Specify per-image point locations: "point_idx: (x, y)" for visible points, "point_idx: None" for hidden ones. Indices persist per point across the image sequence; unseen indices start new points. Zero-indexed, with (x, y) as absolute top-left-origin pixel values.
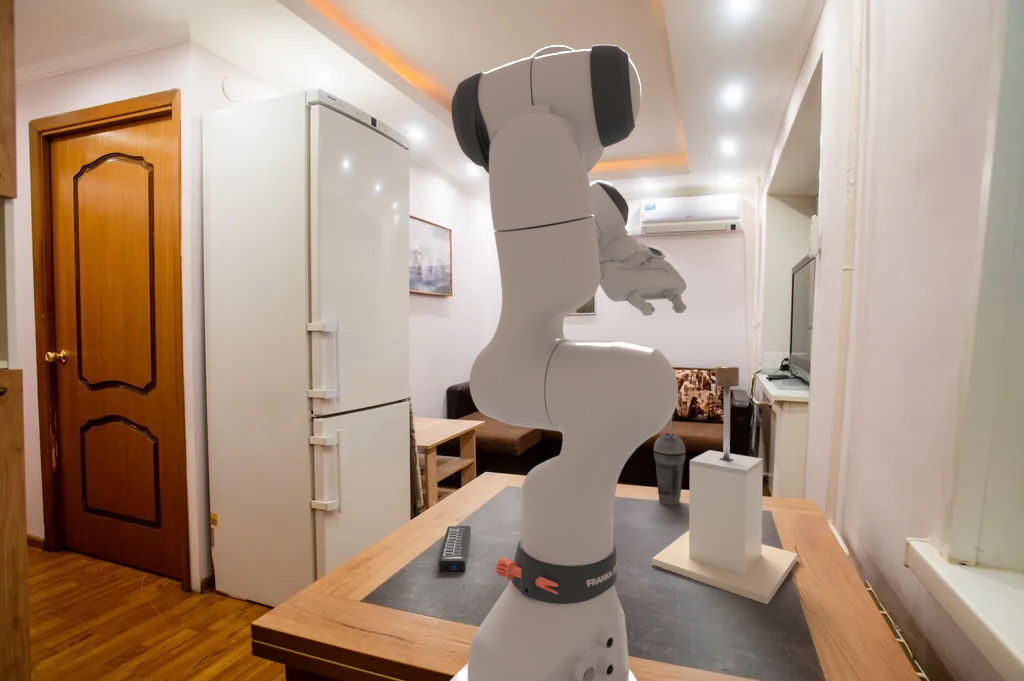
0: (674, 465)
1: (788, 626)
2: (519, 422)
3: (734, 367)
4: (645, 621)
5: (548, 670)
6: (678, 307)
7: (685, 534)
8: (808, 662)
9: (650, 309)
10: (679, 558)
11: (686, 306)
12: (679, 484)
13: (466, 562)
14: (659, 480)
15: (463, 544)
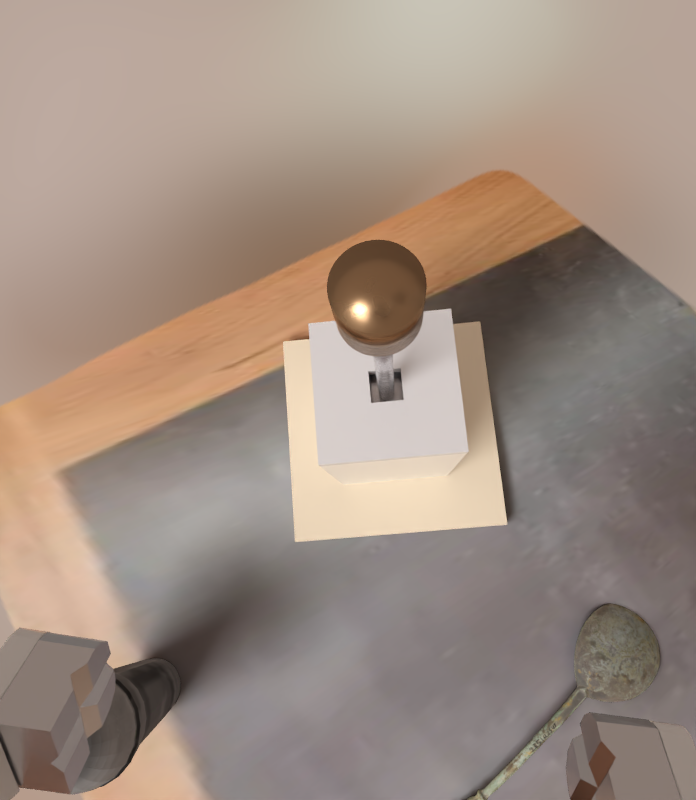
0: (133, 684)
1: (514, 284)
2: None
3: (364, 259)
4: (675, 432)
5: None
6: (87, 694)
7: (352, 533)
8: (578, 241)
9: (672, 726)
10: (466, 485)
11: (17, 630)
12: (137, 664)
13: None
14: (159, 719)
15: None
